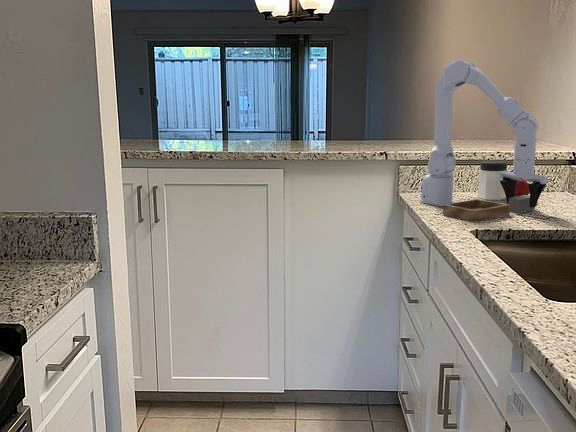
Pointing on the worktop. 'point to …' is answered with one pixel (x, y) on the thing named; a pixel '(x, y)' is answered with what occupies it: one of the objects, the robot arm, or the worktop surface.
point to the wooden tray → (476, 210)
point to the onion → (521, 188)
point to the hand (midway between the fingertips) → (521, 205)
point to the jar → (491, 180)
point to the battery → (520, 204)
